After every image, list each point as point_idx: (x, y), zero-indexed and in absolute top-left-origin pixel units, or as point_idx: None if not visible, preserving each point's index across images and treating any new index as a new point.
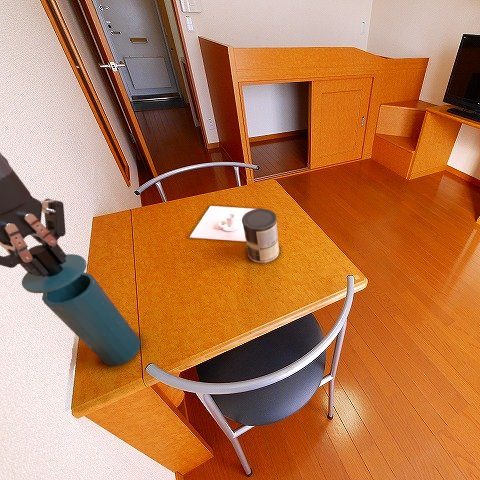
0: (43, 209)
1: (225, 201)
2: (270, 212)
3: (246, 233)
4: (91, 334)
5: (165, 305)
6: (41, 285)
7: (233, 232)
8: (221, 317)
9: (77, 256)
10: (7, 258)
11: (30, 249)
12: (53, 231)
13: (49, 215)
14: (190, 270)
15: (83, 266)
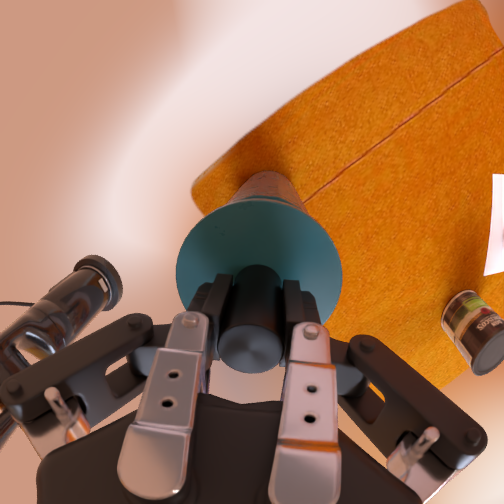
0: (400, 472)
1: None
2: (501, 359)
3: (477, 333)
4: None
5: (358, 213)
6: None
7: (501, 246)
8: (345, 309)
9: (333, 298)
10: (136, 394)
11: (244, 332)
12: (343, 390)
13: (399, 430)
14: (431, 215)
15: None
